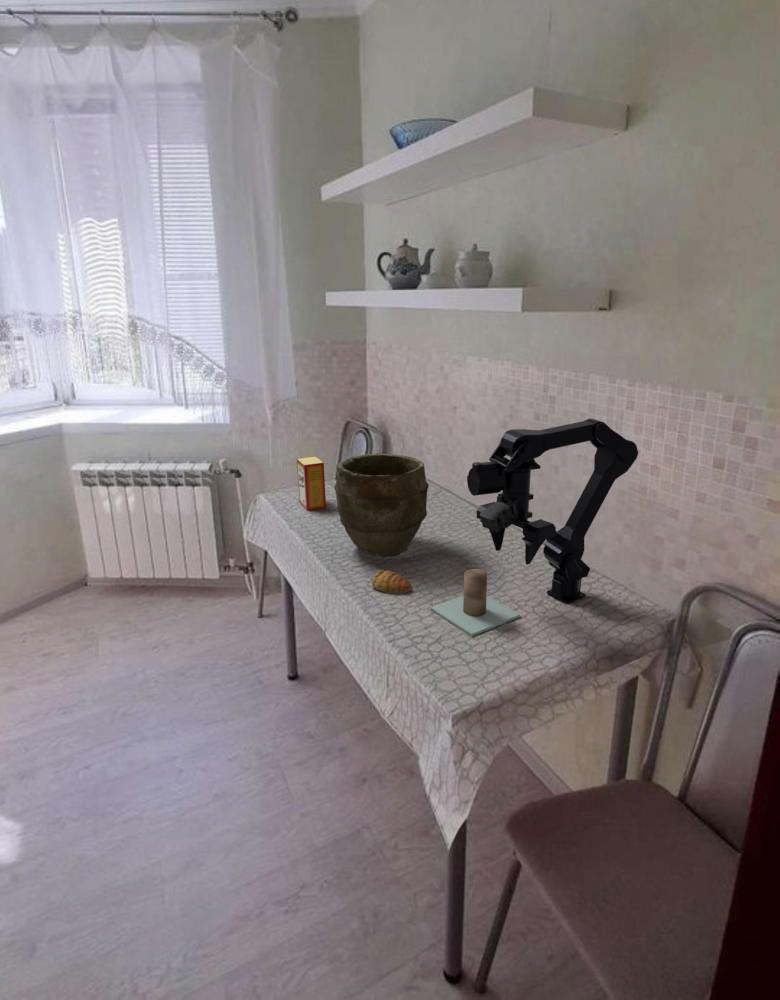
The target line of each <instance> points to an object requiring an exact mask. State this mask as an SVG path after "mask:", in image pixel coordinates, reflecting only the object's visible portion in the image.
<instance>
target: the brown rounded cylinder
mask: <svg viewBox="0 0 780 1000" xmlns="http://www.w3.org/2000/svg"><path fill="white" fill-rule="evenodd" d="M463 574H464V575H463V596H464V600H463V612H464V613H465V614H467V615H469V616H482V615H484V614H485V613H486V597H487V596H488V595H487V593H488V572H486V571H485V570H483V569H478V568H471V569H467V570H465V572H463Z"/></svg>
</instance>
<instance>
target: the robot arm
mask: <svg viewBox="0 0 780 1000" xmlns="http://www.w3.org/2000/svg"><path fill="white" fill-rule="evenodd" d="M586 442H589V443H590V444H591V445H592V446H593V447H594V448H595V449H596V451H595V453H594V455H593V456H594V458H593V460H594V462H593V463H594V464H593V465H594V469H593V472H592V473H591V476H590V477H589V480H588V481H587V483H586V485H585V487H584V488H583V491H582V493H581V494H580V496H579V498H578V500H577V502H576V503H575V506H574V508H573V509H572V512H571V513H570V515H569V517H568V519H567V521H566V522H565V524H564V525H563V527H561V528H560V529H559V530H557V531H556V529H557V527H556V525H555V524H554V523H552V522H550V521H546V520H544V519H542V518H540V519H537V520H533V521H529V520H528V519H530V518H531V519H532V518H533V512H532V511H529V508H530V507H529V506H530V501H531V500H534V493H533V494H532V493H530V491H531V490H530V489H531V476H532V475H531V471H532V470H540V469H541V464H539V463H537V461H536V460H535V459H536V458H540V457H541V456H542V455H544V453H546V452H548V451H550V450H554V449H559V448H564V447H568V446H573V445H576V444H581V443H586ZM506 456H507V457H510V459H509V458H507V457H506ZM638 456H639V450H638V446H637V444H636V443H635V441H632V440H629V439H626V438H625V437H624V436H622V435H621V434H619V433H618V432H616V430H613V429H612V428H611V427H610V426H609V425H608V424H606V423H605V422H604V421H601V420H598V419H595V418H587V419H585V420H583V421H578V422H577V421H576V422H573V423H568V424H563V425H559V426H553V427H548V428H545V429H544V428H543V429H525V428H524V429H523V428H517V429H515V428H514V429H513V428H512V429H508V430H507V431H505V432H504V433H503V435H502V437H501V439H500V441H499V443H498V445H497V447H496V448H495V450H493V453H492V454H491V455H490V457H489V458H488V460H489V461H485V462H480V461H476V462H472V465H471V468H470V470H469V471H468V474H467V476H466V484H467V487H468V491H469V493H470V494H471V495H472V496H473V497H474V496H483V495H491V494H497V496H496V501H493V502H488V503H485V504H481V505H479V506H478V508H477V509H476V519H478V520H479V522H480V523H481V525H482V527H483V528H484V529H488V530H489V533H490V536H491V539H492V542H493V545H494V548H495V551H496V552H498V551H499V552H500V551H501V549H502V545H503V544H504V543H503V542H504V536H505V533H506V529H508V528H509V527H511V526H512V525H513V526H515V527H519V528H520V529H522V535H523V537H521V540H522V541H523V542H524V544H525V546H524V547H525V550H524V551H525V552H524V553H525V554H524V561H525V564H526V565H530V564H531V563H532V561H533V560H534V558H535V557H536V554H537V553H538V551H539V550H540V548H541V547H542V545H544V547H543V551H542V553H543V556H544V558H545V559H546V560H547V561H548V565H549V566H550V567H552V568H554V569H555V570H554V571H553V575H552V580H551V589H548V590H547V591H546V594H547V595H549V596H551V597H553V598H555V599H557V600H559V601H561V602H564V603H566V604H570V603H573V602H575V601H578V600H580V599H582V598H584V597H585V598H586V593H585V592H582V591H581V590H582V589H581V588H582V579H583V578H587V577H588V576H589V573H590V571H591V567H590V566H588V564H586V563H585V562H584V561H583V559H582V558H583V555H584V553H585V537H586V534H588V531H589V529H590V527H591V525H592V524H593V521H594V520H595V518H596V516H597V514H598V512H599V511H600V508H601V507H602V505H603V504H604V501H605V500H606V498H607V496H608V494H609V492H610V490H611V488H612V487H613V486H614V483H615V481H616V480H617V479H618V478H620V477H621V476H623V475H624V474H625V473H627V472H628V471H629V469H630V468H631V467H632V466H633V464H634V463H635V461H637V458H638Z"/></svg>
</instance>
